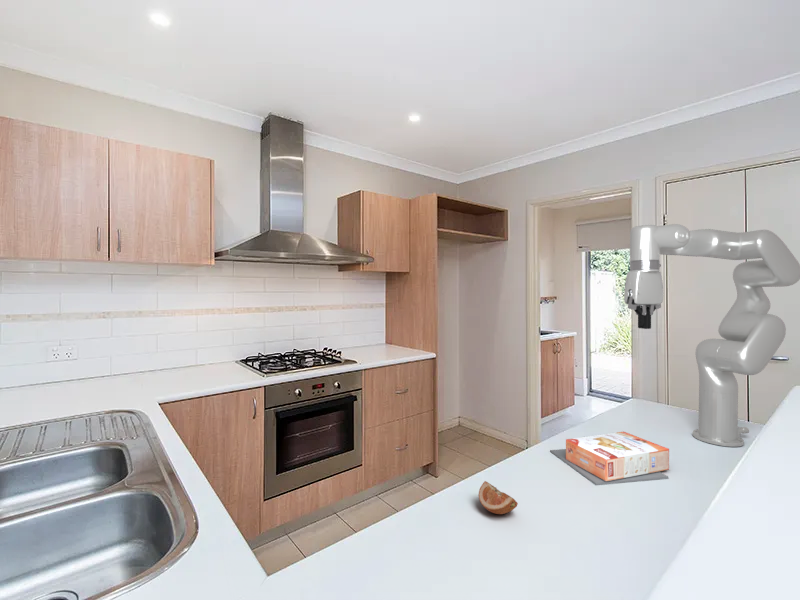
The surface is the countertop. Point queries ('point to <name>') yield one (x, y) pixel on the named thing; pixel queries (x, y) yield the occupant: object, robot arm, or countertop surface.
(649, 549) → the countertop surface
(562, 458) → the mat
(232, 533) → the countertop surface
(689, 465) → the countertop surface
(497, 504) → the fruit slice
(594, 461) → the cracker box
